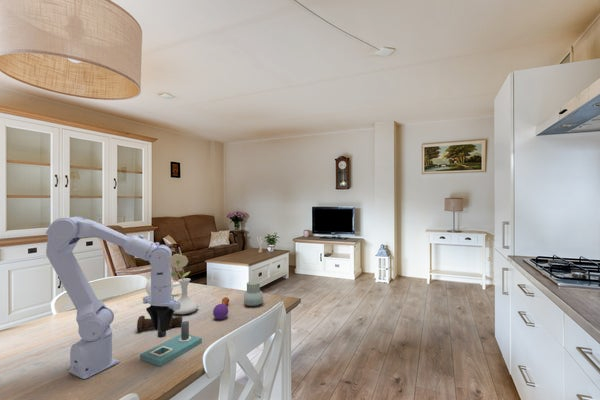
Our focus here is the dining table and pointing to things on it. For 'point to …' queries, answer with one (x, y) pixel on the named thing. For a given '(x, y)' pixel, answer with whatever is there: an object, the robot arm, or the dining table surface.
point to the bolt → (148, 323)
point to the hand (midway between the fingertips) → (161, 329)
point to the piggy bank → (148, 286)
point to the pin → (160, 334)
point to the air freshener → (253, 294)
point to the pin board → (171, 347)
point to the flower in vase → (183, 285)
